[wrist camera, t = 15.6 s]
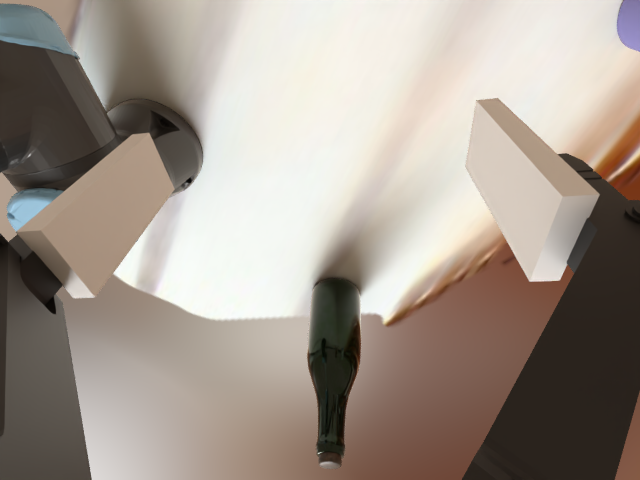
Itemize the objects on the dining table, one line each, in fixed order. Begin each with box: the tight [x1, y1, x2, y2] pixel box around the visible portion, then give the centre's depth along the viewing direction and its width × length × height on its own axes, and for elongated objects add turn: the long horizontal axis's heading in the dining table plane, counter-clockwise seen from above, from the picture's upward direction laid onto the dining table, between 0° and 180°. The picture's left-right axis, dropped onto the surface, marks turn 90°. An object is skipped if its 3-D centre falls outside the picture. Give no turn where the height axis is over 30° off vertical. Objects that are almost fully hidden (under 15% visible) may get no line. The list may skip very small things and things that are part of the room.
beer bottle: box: [307, 278, 361, 469], centre depth 62 cm, size 10×10×33 cm
